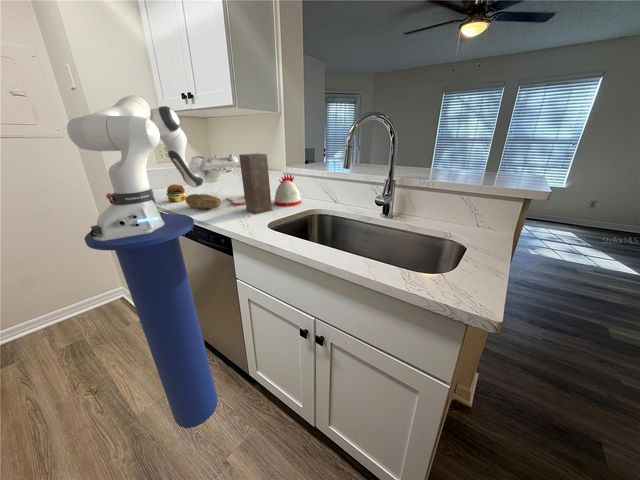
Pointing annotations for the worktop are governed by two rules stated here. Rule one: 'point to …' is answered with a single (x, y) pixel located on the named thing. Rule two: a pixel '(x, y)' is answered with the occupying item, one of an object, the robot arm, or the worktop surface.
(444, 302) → the worktop surface
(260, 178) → the tall brown brick
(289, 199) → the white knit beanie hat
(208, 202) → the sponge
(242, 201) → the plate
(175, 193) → the cheeseburger
